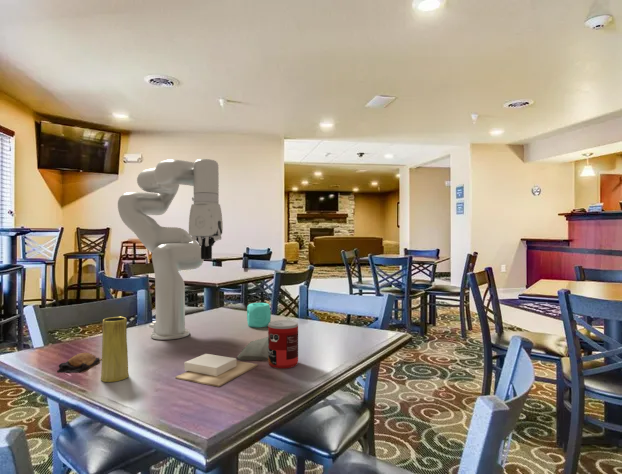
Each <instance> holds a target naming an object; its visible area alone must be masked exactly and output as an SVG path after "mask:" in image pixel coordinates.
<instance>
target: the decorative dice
mask: <svg viewBox="0 0 622 474" xmlns="http://www.w3.org/2000/svg"><path fill="white" fill-rule="evenodd" d="M246 319H247V320H246V321H247V326H248V327H249V328H257V329H258V328H266V327H268V323H270V322H272V321H271V319H272V315H271V306H270V304H269V303H267V302H252V303H249V304H248V305H247V307H246Z"/></svg>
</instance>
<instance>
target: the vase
mask: <svg viewBox="0 0 622 474" xmlns="http://www.w3.org/2000/svg"><path fill="white" fill-rule="evenodd" d="M127 322H128V319H127V317H124V316H113V317H106V318H104V319H102V334H101V336H102V339H101V342H102V343H101V344H102V345H101V359H102V360H101V370H100V371H101V372H100V373H101V375H100V380H101V382H103V383H116V382H120V381H123V380H126V379H128V377H129V376H130V374H129V357H128V342H127V341H128V337H127V334H128V333H127V327H128V326H127Z"/></svg>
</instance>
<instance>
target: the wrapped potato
mask: <svg viewBox="0 0 622 474" xmlns="http://www.w3.org/2000/svg"><path fill="white" fill-rule="evenodd" d="M100 362H102V358H100V357H96V356H95V355H94V354H92V353H90V352H80V353H78V354H75V355H73V356H72V357H70V358H69V359H68V360H67V361H66V362H61V363H60V364H59V365H58V370H57V371H56V373H58V374H59V373H60V374H61V373H64V374H65V373H69V374H74V373H75V374H76V373H84V372H87V371H89V370H91V369H92V368H93V367H96V365H98V364H99V363H100Z"/></svg>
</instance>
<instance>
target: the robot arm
mask: <svg viewBox="0 0 622 474" xmlns="http://www.w3.org/2000/svg"><path fill="white" fill-rule="evenodd" d="M219 177H220V176H219V164H218V161H217V160H215V159H210V158H209V159H208V158H199V159H196V160H195V161H194V162H193V161H187V160H182V159H166V160H162V161H159V162H158V163H157V165H156V166H155V167H153V168H152V167H151V168H148V169H144V170H142V171H141V172H139V173H138V175H137V178H136V183H137V185H138V187H139V188H140V189H141V190H143V192H140V191H129V192H125V193H122V195H120V196H119V197H118V200H117V210H118V211H117V212H118V214H119V217H120V219H121V221H122V222H123V223H124V225H125V226H126V227H127V228H128V229H129V230H131V231H132V232H133V233H134V234H135V236H136V238H137V239H138V240H139V241H140V243H142V244H143V247H145V248H146V250H148V252H150V253H152V254H151V261H152V266H153V271H154V283H155V284H154V288H155V289H154V291H155V320H153V321H152V322H151V323H149V324H148V327H149V329H153V331H151V333H150V338H151V339H154V340H159V341H160V340H162V341H163V340H164V341H165V340H170V341H171V340H177V339H182V338H185V337H188V336H189V335H190V332H191V331H190V329H188V328H186V295H185V294H186V293H185V292H186V291H185V290H186V288H185V287H186V286H185V280H184V279H183V277H182V275H181V274H180V271H188V270H189V271H190V270H197V269H198V268H200V267H201V266H202V265H203V263H204V260H212V258H213V256H212V255H213V247H214V246H215V243H217V241H219V240H222V234H223V229H224V227H223V214H222V213H223V212H222V207H221V204H220V203H219V200H220V199H219V193H220V192H219V190H220V189H219V186H220V185H219V183H220V181H219ZM180 185H181V186H182V185H184V186H191V187H193V196H192V197H191V200H192V201H193V204H192V203H191V207H190V210H189V217H188V230H187V231H186V229H184V228H181V227H175V226H174V227H173V226H168V227H167V226H161V225H160V224H159V223H158V222H157V220H155V219H154V218H153V217H151V216H161V215H164V214H165V213H166V212H167V211H168V209H169V208H170V206H171V204H172V202H173V201H174V199H175V197H176V195H177V193H178V191H179V189H180V188H179V187H180Z"/></svg>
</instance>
